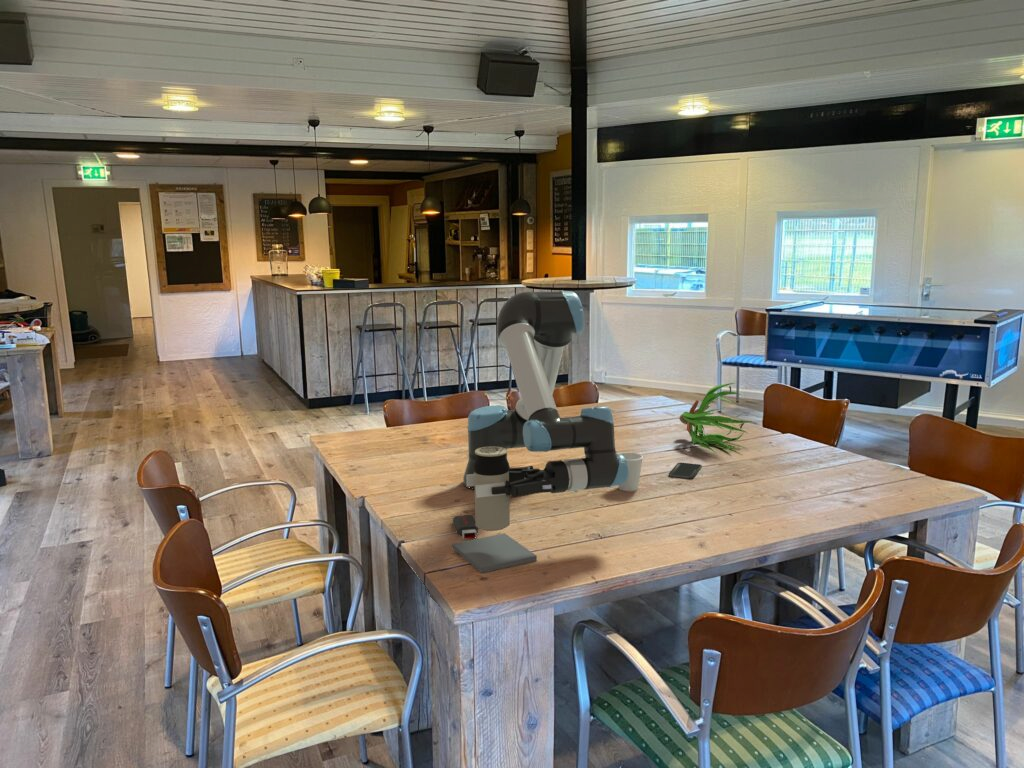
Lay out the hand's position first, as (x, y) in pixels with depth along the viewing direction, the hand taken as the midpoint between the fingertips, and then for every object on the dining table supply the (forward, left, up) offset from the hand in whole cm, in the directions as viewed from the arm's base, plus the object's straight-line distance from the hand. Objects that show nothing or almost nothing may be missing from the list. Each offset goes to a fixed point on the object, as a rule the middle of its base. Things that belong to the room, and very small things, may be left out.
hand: (471, 485), depth 172 cm
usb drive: (-16, +6, -18) cm, 25 cm away
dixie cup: (-24, +62, -17) cm, 68 cm away
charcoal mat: (+1, +5, -17) cm, 18 cm away
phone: (-29, +88, -18) cm, 94 cm away
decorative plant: (-50, +116, -17) cm, 128 cm away
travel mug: (+1, +5, -10) cm, 11 cm away
